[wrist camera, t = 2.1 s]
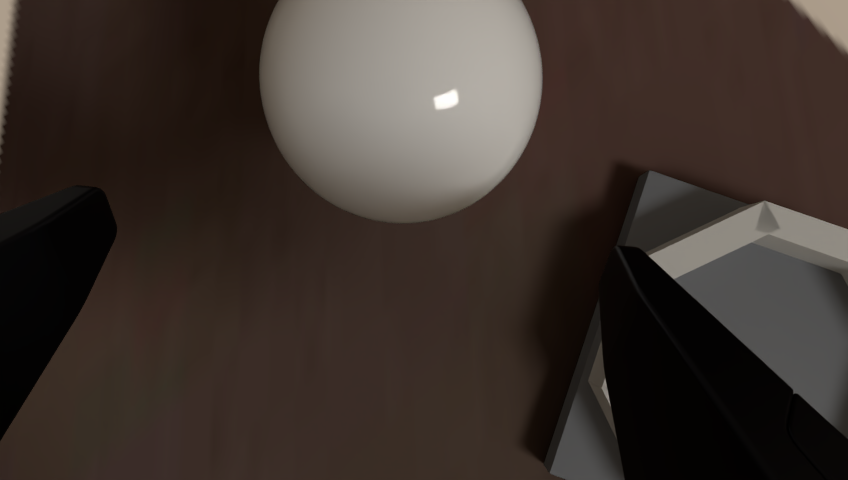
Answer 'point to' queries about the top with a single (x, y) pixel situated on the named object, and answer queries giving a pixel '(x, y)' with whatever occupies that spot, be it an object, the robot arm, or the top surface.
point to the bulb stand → (724, 306)
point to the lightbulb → (401, 100)
